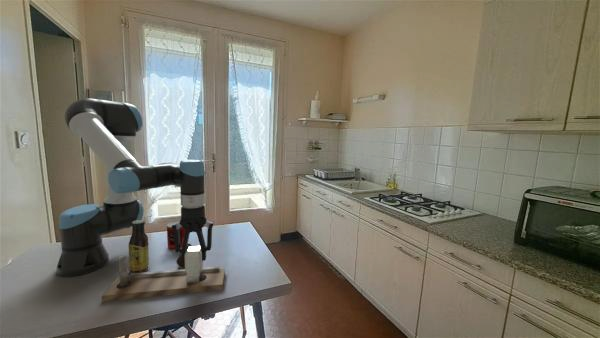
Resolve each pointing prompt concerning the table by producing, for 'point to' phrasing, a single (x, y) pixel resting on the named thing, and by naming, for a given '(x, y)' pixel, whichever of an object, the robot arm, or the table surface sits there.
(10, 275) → the table surface
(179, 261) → the bolt
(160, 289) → the board
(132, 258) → the sauce bottle
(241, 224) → the table surface
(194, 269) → the block
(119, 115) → the robot arm
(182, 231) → the canned food
